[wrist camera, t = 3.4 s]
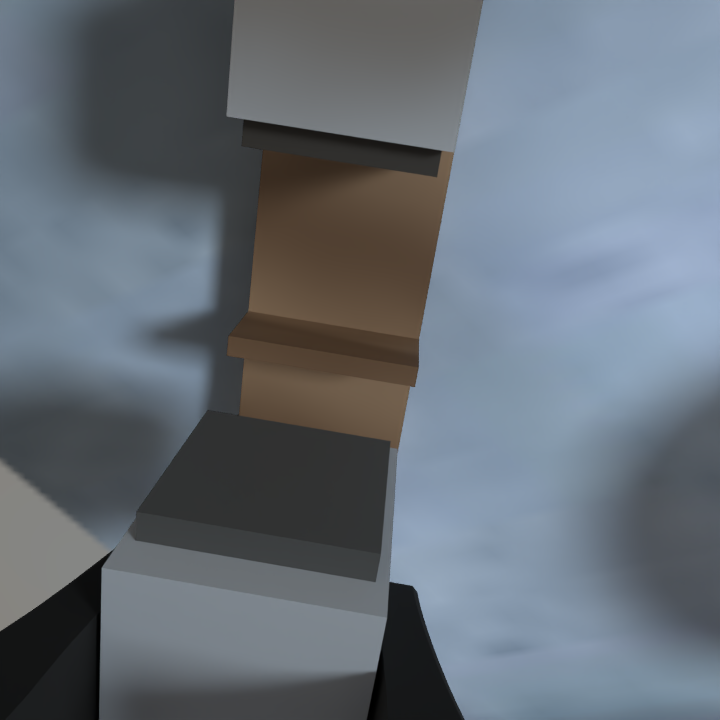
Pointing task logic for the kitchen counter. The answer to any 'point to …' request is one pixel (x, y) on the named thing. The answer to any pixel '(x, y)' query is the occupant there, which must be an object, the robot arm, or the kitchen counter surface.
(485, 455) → the kitchen counter surface
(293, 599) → the block
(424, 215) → the rail
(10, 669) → the robot arm
